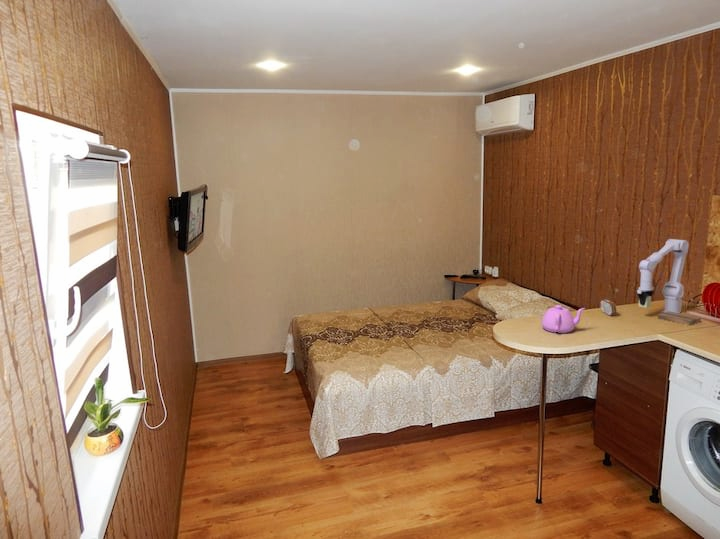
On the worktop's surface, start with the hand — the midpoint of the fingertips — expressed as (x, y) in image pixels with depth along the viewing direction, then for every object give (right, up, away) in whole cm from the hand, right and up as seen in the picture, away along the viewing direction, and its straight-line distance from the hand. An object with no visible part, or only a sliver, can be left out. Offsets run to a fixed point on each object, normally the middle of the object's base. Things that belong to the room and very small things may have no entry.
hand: (644, 303), depth 275 cm
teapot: (-55, -14, -16) cm, 59 cm away
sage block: (0, -1, 0) cm, 2 cm away
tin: (-16, -7, +11) cm, 21 cm away
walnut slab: (+15, -9, -7) cm, 19 cm away
